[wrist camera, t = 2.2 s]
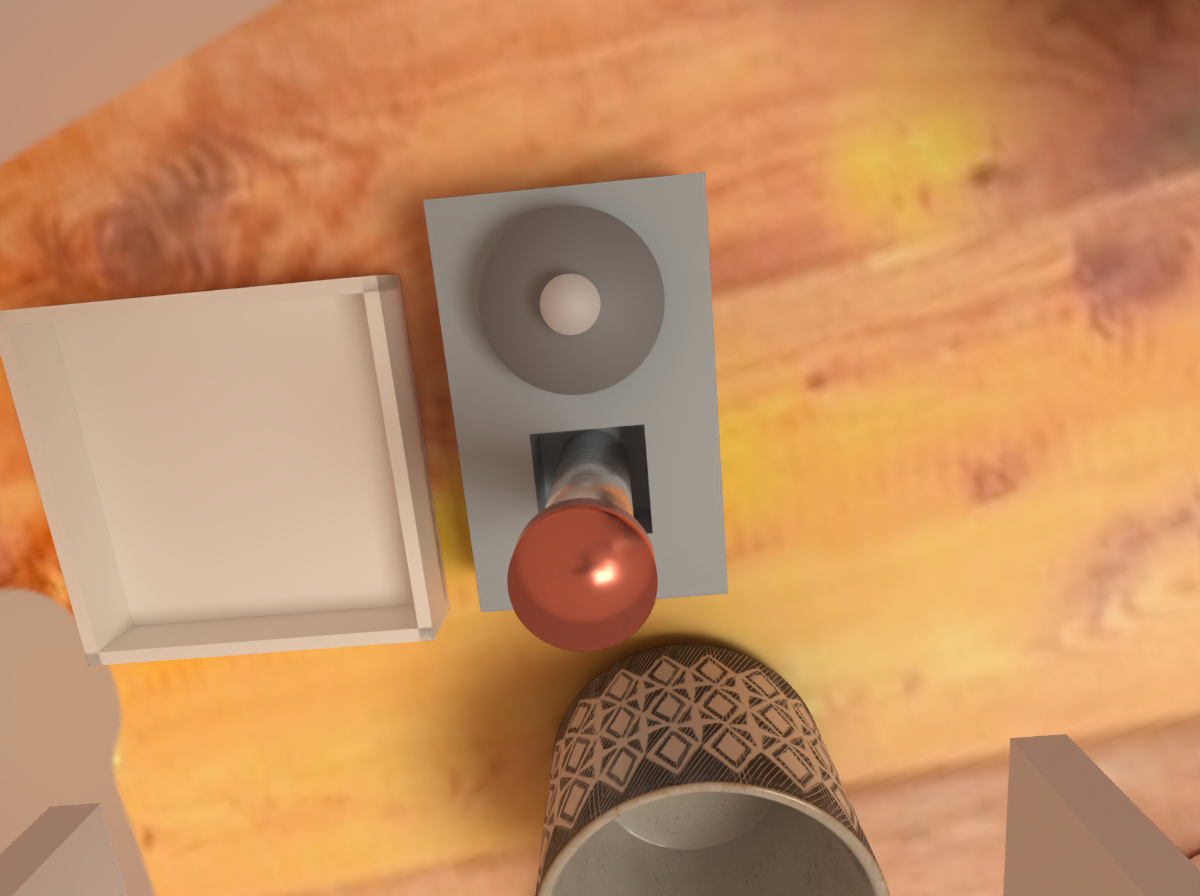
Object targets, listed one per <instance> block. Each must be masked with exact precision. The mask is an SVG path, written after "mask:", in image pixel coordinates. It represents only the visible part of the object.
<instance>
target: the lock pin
mask: <svg viewBox="0 0 1200 896" xmlns="http://www.w3.org/2000/svg"><path fill="white" fill-rule="evenodd" d="M507 586H508V593H509V598H510V601H511V604H512V607H513V609H514V611H515V613H516V615H517V616H518V618H519V619H520V621H521V622H522V623H523V624H524V626H525V627H526V628H527V629H528V630H529V631H530V632H532V633H533V634H534V635H535V636H536V637H538V638H539V639H541V640H542V641H544V642H546V643H548V644H550V645H552V646H555V647H558V648H561V649H565V650H569V651H578V652H590V651H597V650H602V649H606V648H609V647H612V646H614V645H617V644H619V643H621V642H622V641H624V640H626V639H627V638H629V637H630V636H631V635H633V634H634V633H635V632H636V631H637V630H638V629H639V628H640V627H641V626H642V625H643V623H644V622H645V621H646V619H647V618H648V616H649V614H650V613H651V610H652V608H653V606H654V603H655V599H656V596H657V589H658V577H657V570H656V563H655V556H654V550H653V547H652V544H651V541H650V539H649V537H648V535H647V533H646V532H645V530H644V528H643V527H642V526H641V525H640V523H639V522H638V521H637V520H636V519H635V518H634V516H633V504H632V492H631V480H630V468H629V459H628V455H627V452H626V450H625V448H624V446H623V445H622V443H621V442H620V441H619V440H618V439H617V438H615V437H614V436H612V435H611V434H609V433H606V432H603V431H597V430H590V431H585V432H581V433H579V434H577V435H575V436H574V437H572V438H571V439H570V440H569V441H568V442H567V443H566V444H565V446H564V447H563V449H562V451H561V454H560V457H559V461H558V464H557V468H556V471H555V475H554V478H553V482H552V485H551V489H550V492H549V496H548V499H547V503H546V506H545V509H543V510H542V511H540V512H539V513H538V514H537V515H535V516H534V517H533V518H532V519H531V520H530V521H529V522H528V524H527V525H526V526H525V528H524V529H523V531H522V533H521V534H520V536H519V538H518V541H517V544H516V546H515V549H514V552H513V555H512V558H511V560H510V564H509V568H508V576H507Z"/></svg>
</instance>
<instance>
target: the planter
mask: <svg viewBox="0 0 1200 896" xmlns="http://www.w3.org/2000/svg"><path fill="white" fill-rule="evenodd" d="M535 896H890V894H889V890H888V887H887V884H886V882H885V879H884V877H883V874H882V872H881V870H880V868H879V865H878V863H877V861H876V859H875V856H874V854H873V852H872V850H871V847H870V845H869V843H868V841H867V839H866V836H865V834H864V832H863V830H862V827H861V825H860V823H859V821H858V818H857V816H856V814H855V812H854V809H853V807H852V805H851V803H850V800H849V798H848V796H847V794H846V791H845V789H844V787H843V785H842V782H841V780H840V778H839V776H838V773H837V771H836V769H835V767H834V764H833V762H832V760H831V758H830V755H829V753H828V751H827V749H826V746H825V744H824V742H823V740H822V737H821V735H820V733H819V731H818V728H817V726H816V724H815V722H814V720H813V717H812V715H811V713H810V712H809V710H808V708H807V706H806V705H805V703H804V702H803V700H802V699H801V697H800V696H799V695H798V694H797V692H796V691H795V690H794V689H793V688H792V687H791V686H790V685H789V684H788V683H787V682H786V681H785V680H784V679H783V678H782V677H781V676H779V675H778V674H777V673H776V672H774V671H773V670H771V669H770V668H768V667H767V666H765V665H764V664H762V663H760V662H758V661H757V660H755V659H753V658H750V657H748V656H746V655H743V654H741V653H738V652H735V651H732V650H728V649H725V648H720V647H716V646H709V645H698V644H679V645H669V646H662V647H657V648H653V649H649V650H645V651H642V652H639V653H636V654H634V655H631V656H629V657H627V658H625V659H622V660H620V661H619V662H617V663H615V664H613V665H611V666H610V667H608V668H607V669H605V670H604V671H602V672H601V673H600V674H599V675H597V676H596V677H595V678H594V679H593V680H592V681H590V682H589V683H588V684H587V685H586V686H585V687H584V688H583V690H582V691H581V692H580V693H579V694H578V695H577V697H576V698H575V699H574V701H573V702H572V704H571V705H570V707H569V708H568V710H567V712H566V714H565V716H564V717H563V720H562V722H561V724H560V727H559V730H558V733H557V736H556V740H555V744H554V751H553V758H552V766H551V774H550V782H549V790H548V798H547V806H546V814H545V822H544V830H543V838H542V847H541V855H540V863H539V871H538V879H537V887H536V895H535Z"/></svg>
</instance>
